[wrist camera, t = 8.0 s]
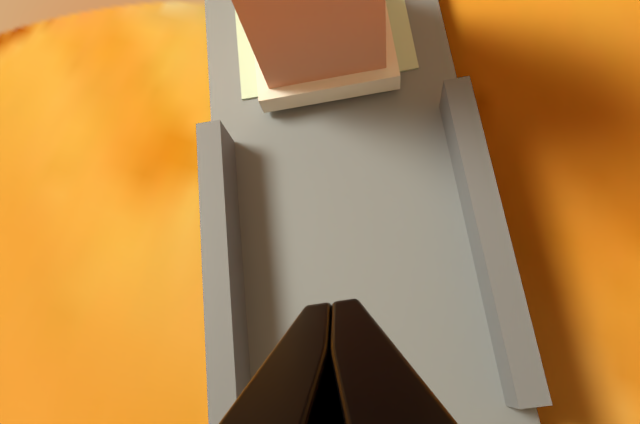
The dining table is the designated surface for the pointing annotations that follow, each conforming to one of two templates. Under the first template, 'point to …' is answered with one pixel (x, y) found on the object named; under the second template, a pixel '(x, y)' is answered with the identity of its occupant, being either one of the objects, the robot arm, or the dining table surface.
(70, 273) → the dining table surface
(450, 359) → the track
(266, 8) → the salmon pink tall box
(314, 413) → the robot arm
